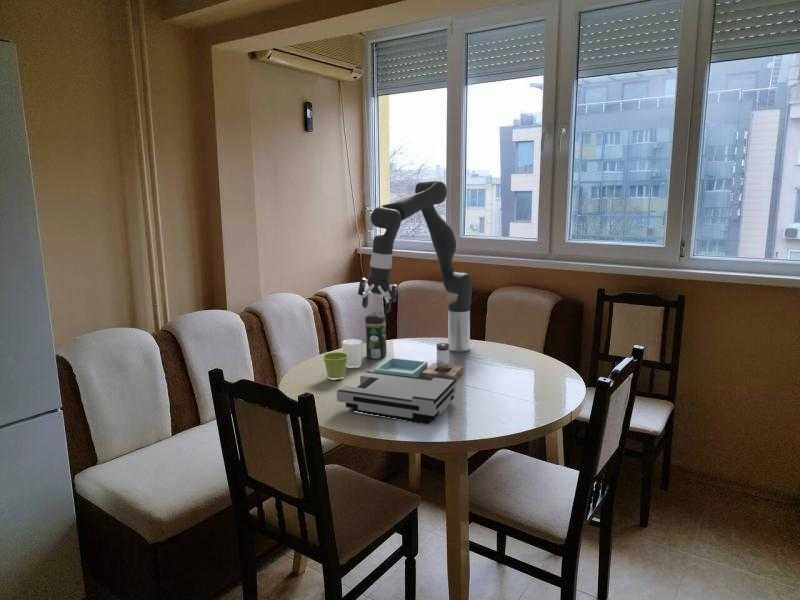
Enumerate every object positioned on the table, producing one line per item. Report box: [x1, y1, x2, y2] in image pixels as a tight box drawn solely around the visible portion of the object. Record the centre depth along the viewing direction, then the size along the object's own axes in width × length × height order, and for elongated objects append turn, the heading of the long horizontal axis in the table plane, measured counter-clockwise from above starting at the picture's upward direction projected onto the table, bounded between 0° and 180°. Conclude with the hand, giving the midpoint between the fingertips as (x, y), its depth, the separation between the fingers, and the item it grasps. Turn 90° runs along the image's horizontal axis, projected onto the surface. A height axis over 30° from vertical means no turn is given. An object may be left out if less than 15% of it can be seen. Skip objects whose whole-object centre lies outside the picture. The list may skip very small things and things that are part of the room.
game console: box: [336, 370, 457, 425], centre depth 174 cm, size 21×32×8 cm, turn 67°
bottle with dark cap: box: [436, 342, 450, 372], centre depth 202 cm, size 5×5×12 cm
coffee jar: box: [364, 311, 388, 359], centre depth 227 cm, size 10×8×19 cm
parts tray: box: [373, 357, 429, 378], centre depth 204 cm, size 15×15×4 cm
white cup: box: [341, 338, 363, 366], centre depth 216 cm, size 8×8×10 cm
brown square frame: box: [421, 362, 464, 381], centre depth 203 cm, size 12×12×2 cm
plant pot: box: [322, 351, 348, 378], centre depth 202 cm, size 9×9×9 cm
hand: (375, 309), depth 196 cm, fingers open, 8 cm apart
